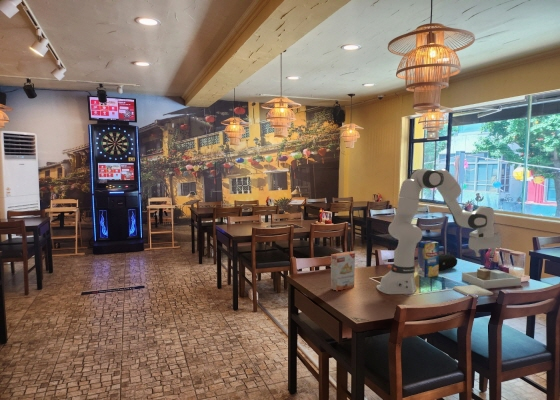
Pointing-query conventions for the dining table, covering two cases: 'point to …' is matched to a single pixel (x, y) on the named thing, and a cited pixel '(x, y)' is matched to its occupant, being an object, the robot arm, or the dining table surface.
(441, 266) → the portable speaker
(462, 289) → the cream tile
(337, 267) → the cracker box
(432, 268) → the blue tall cardboard box
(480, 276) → the walnut block
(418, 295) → the dining table surface
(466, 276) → the grey bin
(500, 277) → the blue-grey block
